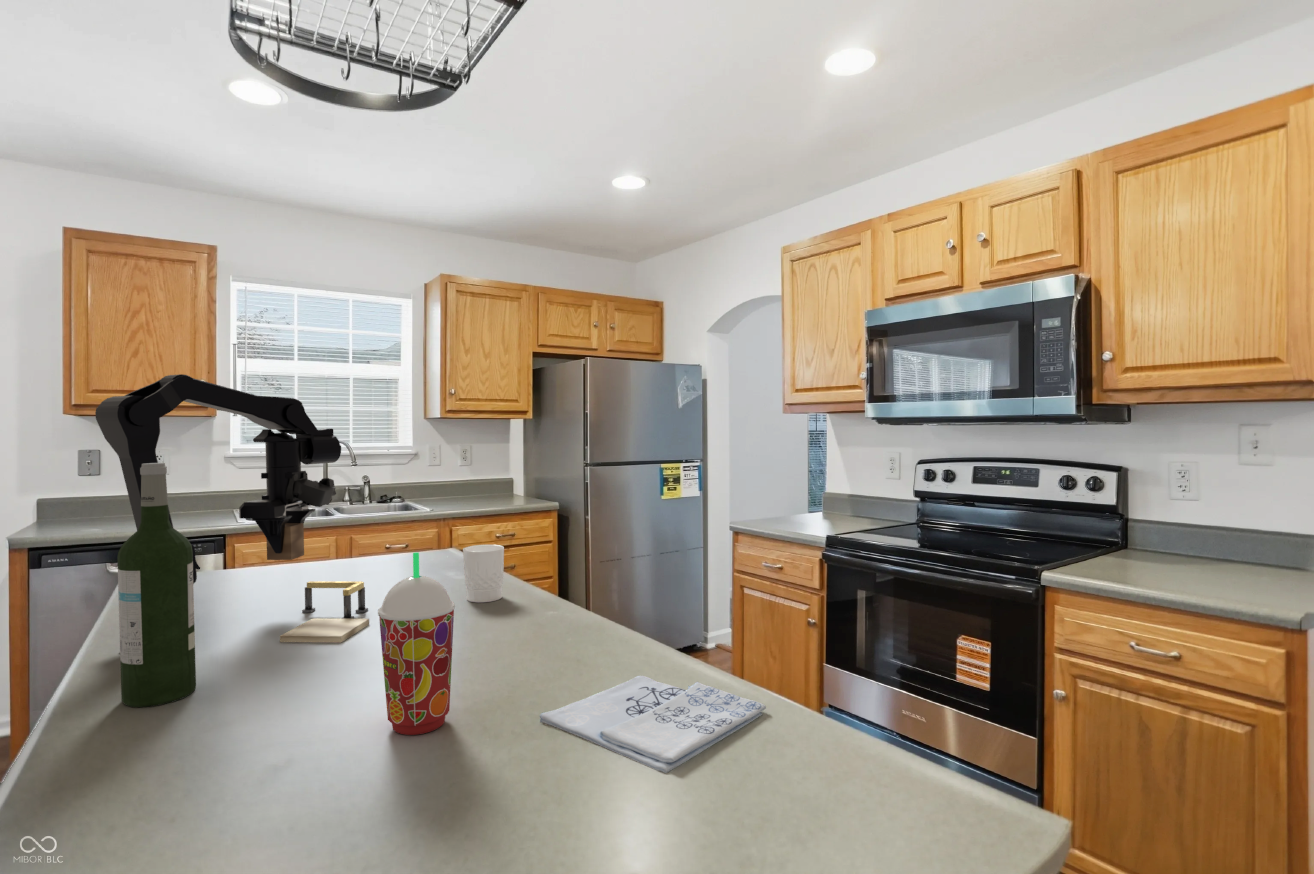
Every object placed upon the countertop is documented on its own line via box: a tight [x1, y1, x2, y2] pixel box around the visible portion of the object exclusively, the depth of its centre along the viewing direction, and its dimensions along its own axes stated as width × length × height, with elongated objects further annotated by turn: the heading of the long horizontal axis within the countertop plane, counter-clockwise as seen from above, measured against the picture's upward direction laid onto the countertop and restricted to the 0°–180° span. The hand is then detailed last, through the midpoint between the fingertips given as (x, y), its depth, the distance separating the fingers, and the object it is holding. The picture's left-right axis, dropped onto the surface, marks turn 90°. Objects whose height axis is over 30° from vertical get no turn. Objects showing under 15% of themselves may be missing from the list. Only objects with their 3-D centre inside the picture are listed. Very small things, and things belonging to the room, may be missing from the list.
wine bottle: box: [116, 462, 197, 708], centre depth 92 cm, size 8×8×30 cm
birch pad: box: [279, 617, 370, 644], centre depth 119 cm, size 10×10×1 cm
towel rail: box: [301, 580, 369, 619], centre depth 129 cm, size 7×12×6 cm, turn 88°
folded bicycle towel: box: [539, 675, 767, 774], centre depth 85 cm, size 19×20×2 cm
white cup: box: [462, 544, 505, 603], centre depth 141 cm, size 8×8×10 cm
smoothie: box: [377, 551, 456, 736], centre depth 82 cm, size 8×8×20 cm
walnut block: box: [265, 523, 305, 561], centre depth 132 cm, size 4×4×6 cm
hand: (285, 550), depth 132 cm, fingers closed on walnut block, 4 cm apart
